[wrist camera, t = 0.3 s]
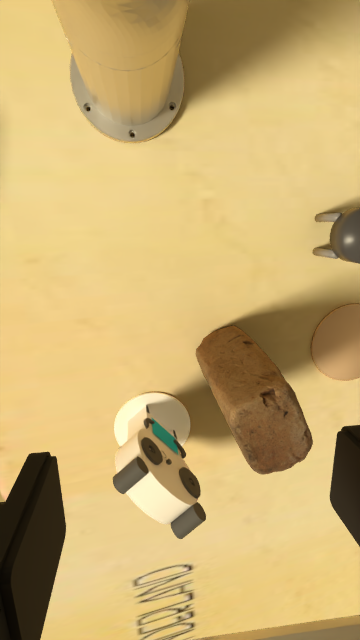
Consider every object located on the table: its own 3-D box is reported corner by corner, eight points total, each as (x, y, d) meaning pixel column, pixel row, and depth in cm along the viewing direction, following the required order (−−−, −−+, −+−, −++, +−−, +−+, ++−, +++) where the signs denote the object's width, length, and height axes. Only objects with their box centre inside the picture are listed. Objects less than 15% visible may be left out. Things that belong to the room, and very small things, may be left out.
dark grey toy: (311, 210, 45) (346, 207, 37) (357, 208, 45) (400, 204, 38) (308, 259, 47) (341, 265, 39) (352, 256, 47) (393, 262, 40)
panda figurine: (208, 428, 52) (233, 505, 38) (153, 473, 53) (158, 565, 39) (154, 377, 49) (160, 440, 34) (98, 426, 50) (81, 508, 36)
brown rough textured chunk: (187, 338, 48) (219, 413, 29) (236, 316, 48) (300, 377, 29) (215, 400, 51) (260, 505, 32) (261, 379, 51) (334, 472, 32)
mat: (313, 306, 49) (315, 307, 48) (391, 301, 50) (393, 301, 49) (308, 382, 52) (310, 384, 51) (382, 375, 53) (384, 377, 53)
